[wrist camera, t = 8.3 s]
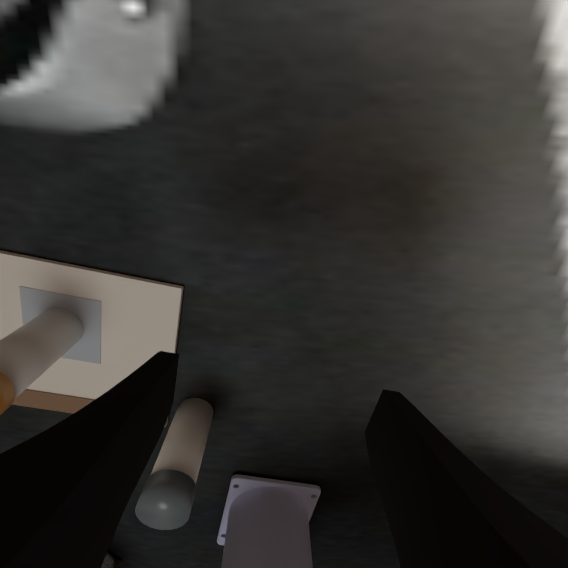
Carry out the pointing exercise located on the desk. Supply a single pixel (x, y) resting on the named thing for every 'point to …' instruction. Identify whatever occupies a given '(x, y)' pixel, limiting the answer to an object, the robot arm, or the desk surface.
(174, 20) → the desk surface
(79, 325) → the orange cap marker
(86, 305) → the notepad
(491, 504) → the robot arm
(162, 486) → the dark cap marker
